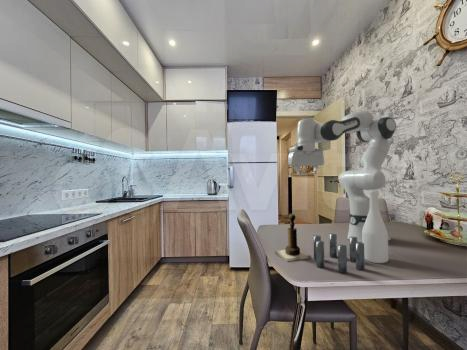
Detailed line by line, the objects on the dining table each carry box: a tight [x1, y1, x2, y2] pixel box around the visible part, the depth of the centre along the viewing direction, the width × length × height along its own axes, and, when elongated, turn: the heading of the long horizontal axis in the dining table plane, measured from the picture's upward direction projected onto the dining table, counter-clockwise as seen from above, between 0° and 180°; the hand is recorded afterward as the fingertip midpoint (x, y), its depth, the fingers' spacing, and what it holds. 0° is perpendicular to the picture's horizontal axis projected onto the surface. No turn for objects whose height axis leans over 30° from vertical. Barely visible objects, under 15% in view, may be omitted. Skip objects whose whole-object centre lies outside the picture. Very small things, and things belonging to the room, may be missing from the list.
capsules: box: [313, 233, 366, 275], centre depth 97 cm, size 20×18×10 cm
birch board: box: [274, 249, 312, 262], centre depth 108 cm, size 12×11×1 cm
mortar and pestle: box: [284, 213, 301, 255], centre depth 108 cm, size 7×6×18 cm
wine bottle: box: [361, 189, 389, 264], centre depth 101 cm, size 10×10×30 cm
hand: (306, 174), depth 125 cm, fingers open, 8 cm apart
